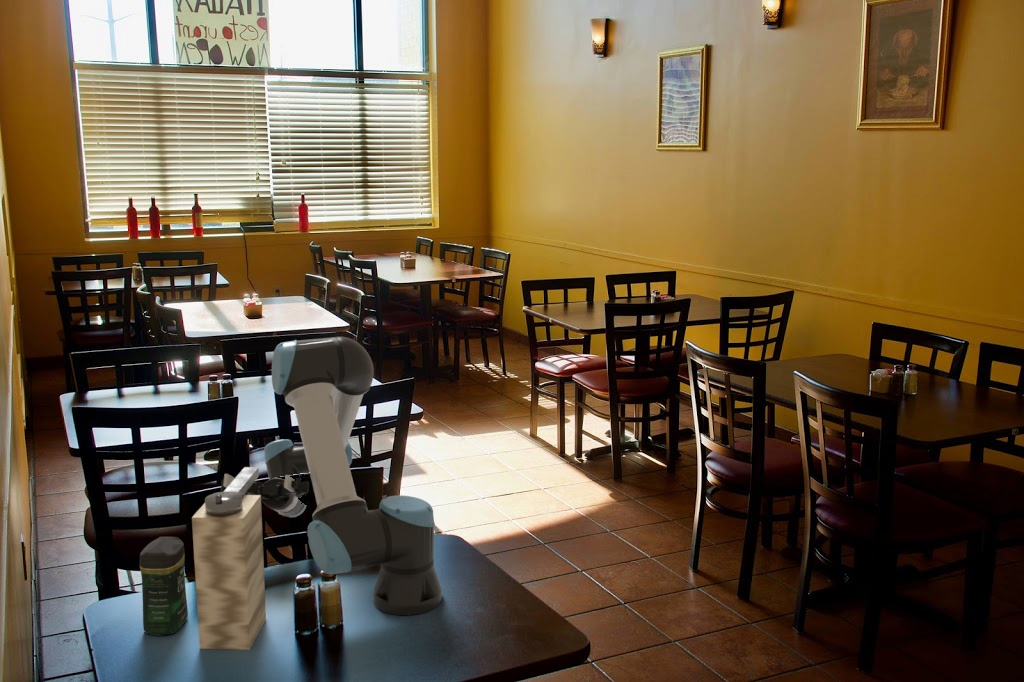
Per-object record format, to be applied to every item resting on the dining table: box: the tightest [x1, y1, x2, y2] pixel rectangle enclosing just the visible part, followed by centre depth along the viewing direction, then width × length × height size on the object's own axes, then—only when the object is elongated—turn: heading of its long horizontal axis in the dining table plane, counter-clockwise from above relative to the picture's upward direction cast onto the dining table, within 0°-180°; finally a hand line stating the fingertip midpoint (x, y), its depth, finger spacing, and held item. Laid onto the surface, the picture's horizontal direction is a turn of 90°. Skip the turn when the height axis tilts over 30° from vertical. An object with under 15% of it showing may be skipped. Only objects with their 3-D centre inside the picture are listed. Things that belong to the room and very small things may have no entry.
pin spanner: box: [204, 466, 260, 517], centre depth 187 cm, size 22×7×4 cm, turn 0°
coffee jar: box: [139, 536, 189, 637], centre depth 188 cm, size 10×8×19 cm
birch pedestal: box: [191, 494, 267, 651], centre depth 184 cm, size 10×12×28 cm
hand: (255, 480), depth 203 cm, fingers open, 13 cm apart
